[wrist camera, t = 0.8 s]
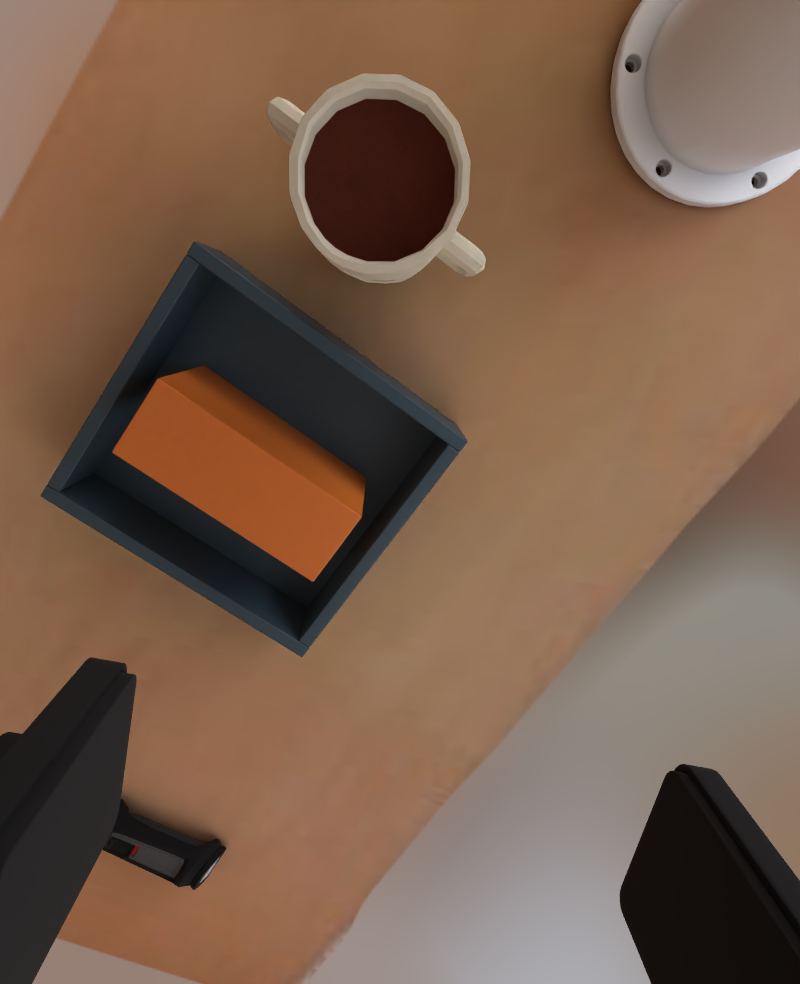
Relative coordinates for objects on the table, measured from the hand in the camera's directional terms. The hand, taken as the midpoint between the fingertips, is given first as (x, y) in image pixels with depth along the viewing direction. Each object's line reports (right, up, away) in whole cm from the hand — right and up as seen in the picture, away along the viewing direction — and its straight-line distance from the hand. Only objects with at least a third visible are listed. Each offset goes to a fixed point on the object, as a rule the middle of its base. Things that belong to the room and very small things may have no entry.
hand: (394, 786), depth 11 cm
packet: (-8, +8, +28) cm, 31 cm away
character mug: (-1, +21, +26) cm, 33 cm away
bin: (-8, +8, +29) cm, 31 cm away
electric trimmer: (-20, -20, +37) cm, 46 cm away
